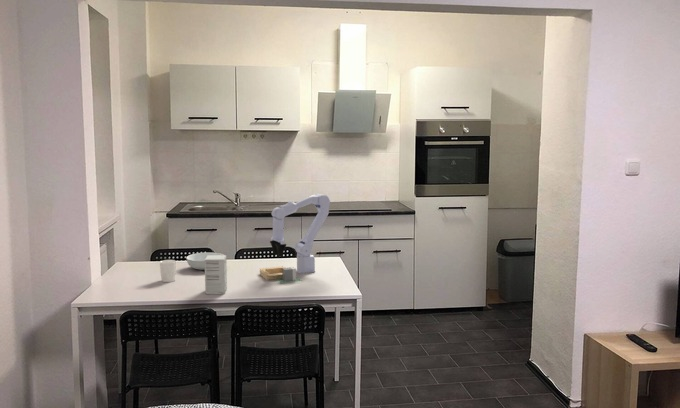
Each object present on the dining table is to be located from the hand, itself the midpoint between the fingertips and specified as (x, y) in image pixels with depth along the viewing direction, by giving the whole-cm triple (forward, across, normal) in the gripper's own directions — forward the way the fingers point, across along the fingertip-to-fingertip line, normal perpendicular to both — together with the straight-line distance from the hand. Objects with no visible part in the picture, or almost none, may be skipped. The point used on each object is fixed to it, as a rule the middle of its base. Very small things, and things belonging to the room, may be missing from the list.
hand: (277, 255), depth 300 cm
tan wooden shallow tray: (+10, +4, -2) cm, 11 cm away
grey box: (+10, +15, +1) cm, 18 cm away
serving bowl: (+12, -31, -32) cm, 45 cm away
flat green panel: (+10, +15, +1) cm, 18 cm away
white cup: (+12, -12, -55) cm, 58 cm away
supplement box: (+12, +19, -38) cm, 43 cm away
